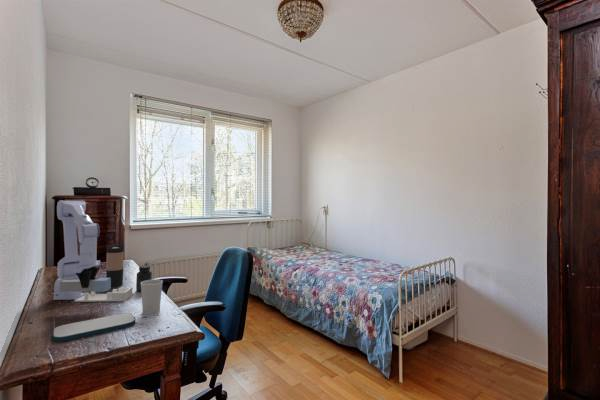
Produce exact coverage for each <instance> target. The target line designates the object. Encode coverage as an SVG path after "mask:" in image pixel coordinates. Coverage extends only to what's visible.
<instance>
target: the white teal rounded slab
mask: <svg viewBox="0 0 600 400" xmlns="http://www.w3.org/2000/svg"><path fill="white" fill-rule="evenodd" d="M135 324H136V318H135V316H134V315H133V314H132V313H130V312H128V313H127V312H126V313H125V312H124V313H119V314H113V315H107V316H104V317H98V318H92V319H87V320H81V321H77V322H71V323H66V324H61V325H59V326H56V327H55V328H53V329H52V330H53V331H52V341H53V342H55V343H60V342H61V343H62V342H67V341H72V340H77V339H81V338H82V339H83V338H87V337H90V336H95V335H96V336H97V335H100V334H103V333H104V334H105V333H110V332H114V331H119V330H124V329H128V328H131V327H133V326H134V325H135Z"/></svg>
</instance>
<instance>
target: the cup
mask: <svg viewBox="0 0 600 400" xmlns="http://www.w3.org/2000/svg"><path fill="white" fill-rule="evenodd" d="M163 281H164V280H162V279H152V280H146V281H143V282H141V292H140V293H141V304H142V307H141V308H142V315H147V316H148V315H151V316H152V315H156V314H158V313H160V311H161V299H162V289H163Z"/></svg>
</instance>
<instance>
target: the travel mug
mask: <svg viewBox="0 0 600 400" xmlns="http://www.w3.org/2000/svg"><path fill="white" fill-rule="evenodd" d="M124 249H125V248H124V246H122V245H113V246H108V247H106V264H105V273H106V274H105V278H111V289H112V288H113V289H115V288H120V287H122V286H123V283H124V282H123V281H124V255H125V254H124V253H125V252H124V251H125V250H124ZM119 286H120V287H119Z"/></svg>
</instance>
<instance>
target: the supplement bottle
mask: <svg viewBox="0 0 600 400" xmlns="http://www.w3.org/2000/svg"><path fill="white" fill-rule="evenodd" d="M138 267H139V269H138V272H137V273H136V280H135V281H136V284H135V290H136V291H135V292H137V293H141V282H143V281H146V280H153V273H152V271H151V266H150V265H140V266H138Z"/></svg>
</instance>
